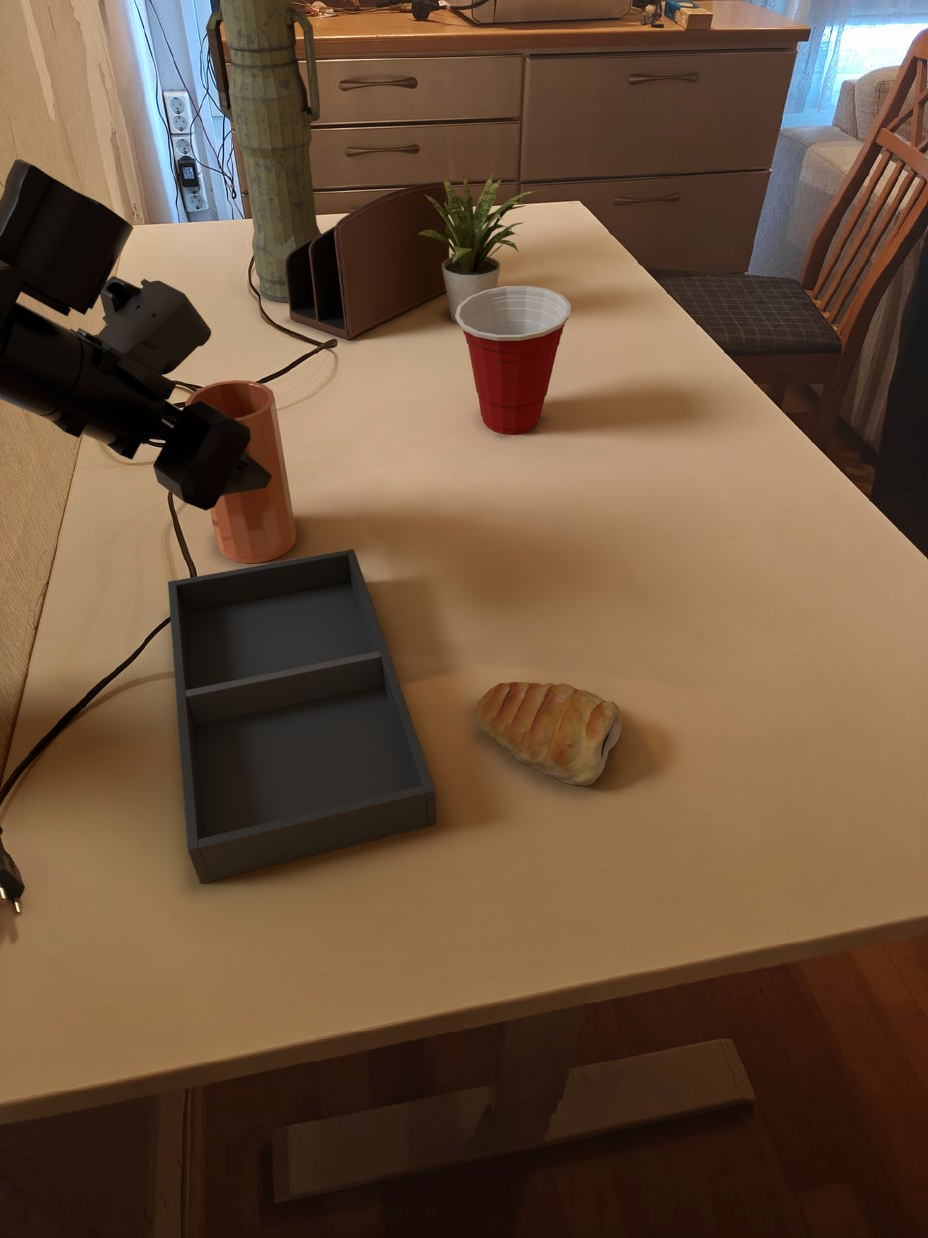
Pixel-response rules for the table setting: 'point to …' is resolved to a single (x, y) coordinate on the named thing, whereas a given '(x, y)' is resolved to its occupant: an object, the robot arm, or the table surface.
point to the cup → (259, 516)
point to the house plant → (471, 241)
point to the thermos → (270, 125)
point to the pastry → (552, 727)
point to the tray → (290, 717)
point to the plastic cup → (512, 351)
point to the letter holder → (370, 263)
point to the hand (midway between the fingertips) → (233, 457)
